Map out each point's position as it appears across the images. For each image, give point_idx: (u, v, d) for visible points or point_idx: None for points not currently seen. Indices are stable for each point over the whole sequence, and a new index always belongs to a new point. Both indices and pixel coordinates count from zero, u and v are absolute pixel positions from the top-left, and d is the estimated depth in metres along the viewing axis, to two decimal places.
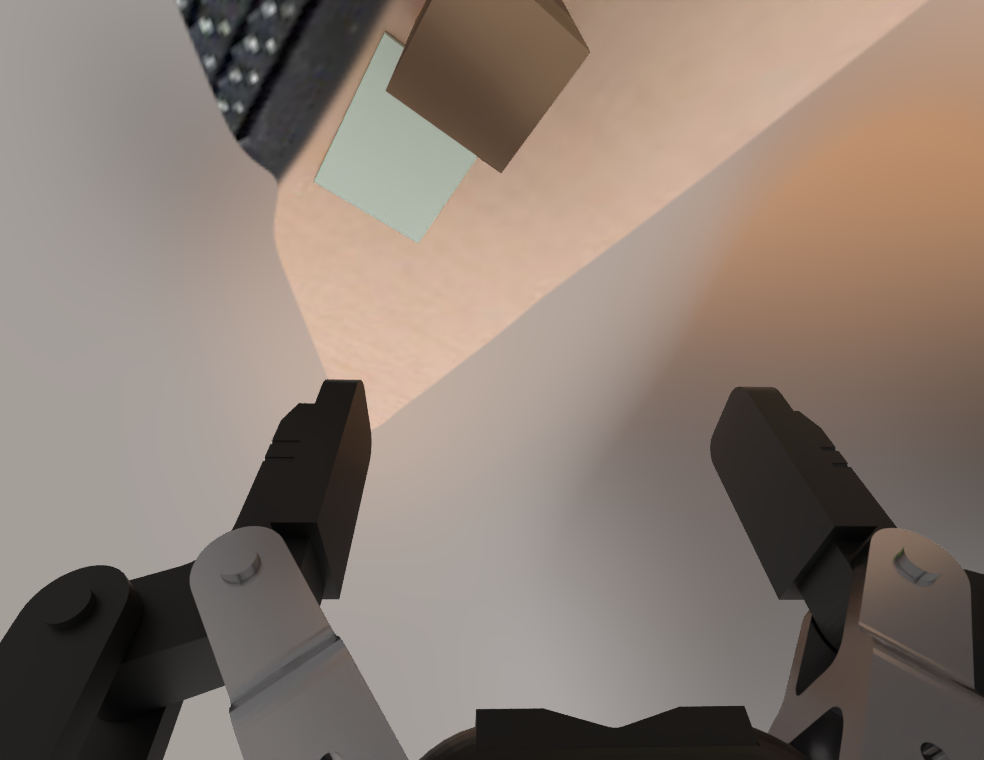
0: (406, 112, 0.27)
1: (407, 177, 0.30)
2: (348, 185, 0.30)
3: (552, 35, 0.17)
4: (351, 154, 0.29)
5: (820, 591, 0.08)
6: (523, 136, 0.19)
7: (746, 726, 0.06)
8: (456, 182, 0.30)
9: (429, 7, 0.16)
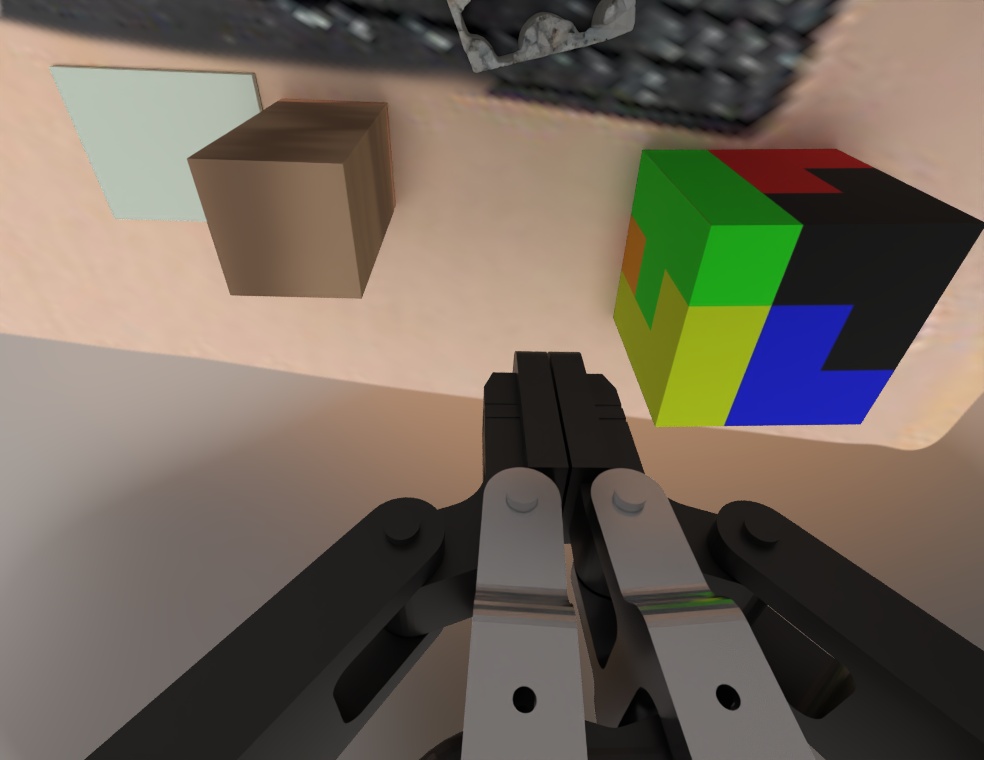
0: (212, 134, 0.25)
1: (161, 169, 0.26)
2: (88, 110, 0.24)
3: (347, 266, 0.19)
4: (121, 98, 0.24)
5: (575, 531, 0.09)
6: (271, 292, 0.19)
7: None
8: (205, 218, 0.27)
9: (279, 162, 0.17)
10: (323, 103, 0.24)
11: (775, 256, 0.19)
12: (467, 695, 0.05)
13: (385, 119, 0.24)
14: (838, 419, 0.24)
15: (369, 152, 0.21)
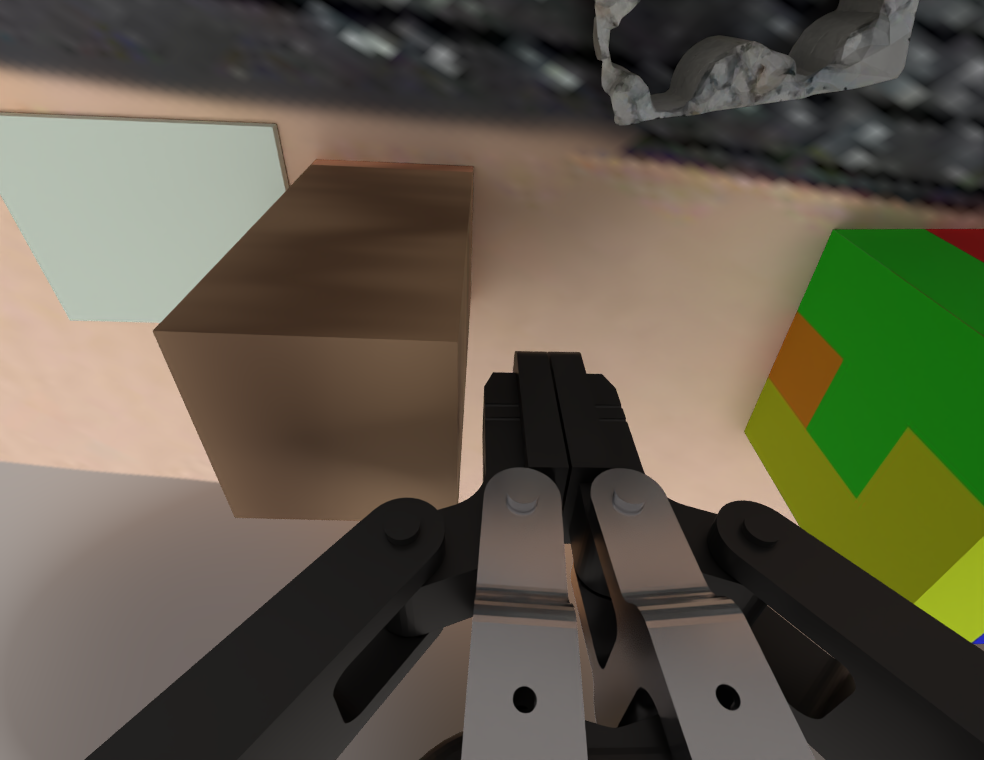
0: (211, 209, 0.17)
1: (135, 257, 0.18)
2: (22, 177, 0.16)
3: (439, 484, 0.11)
4: (72, 159, 0.16)
5: (574, 531, 0.09)
6: (305, 515, 0.11)
7: None
8: None
9: (333, 338, 0.08)
10: (380, 168, 0.16)
11: None
12: (467, 695, 0.05)
13: None
14: None
15: (466, 266, 0.13)
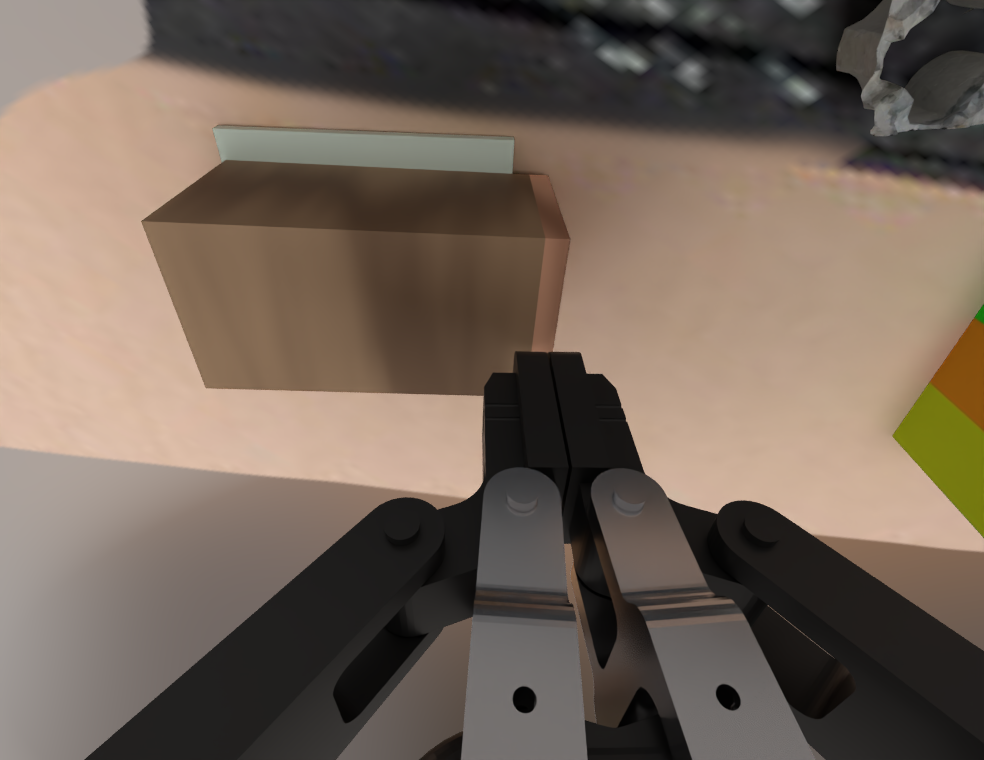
0: None
1: None
2: None
3: None
4: None
5: (575, 531, 0.09)
6: None
7: None
8: None
9: (182, 193, 0.13)
10: (531, 197, 0.14)
11: None
12: (467, 695, 0.05)
13: (531, 259, 0.12)
14: None
15: (344, 262, 0.12)
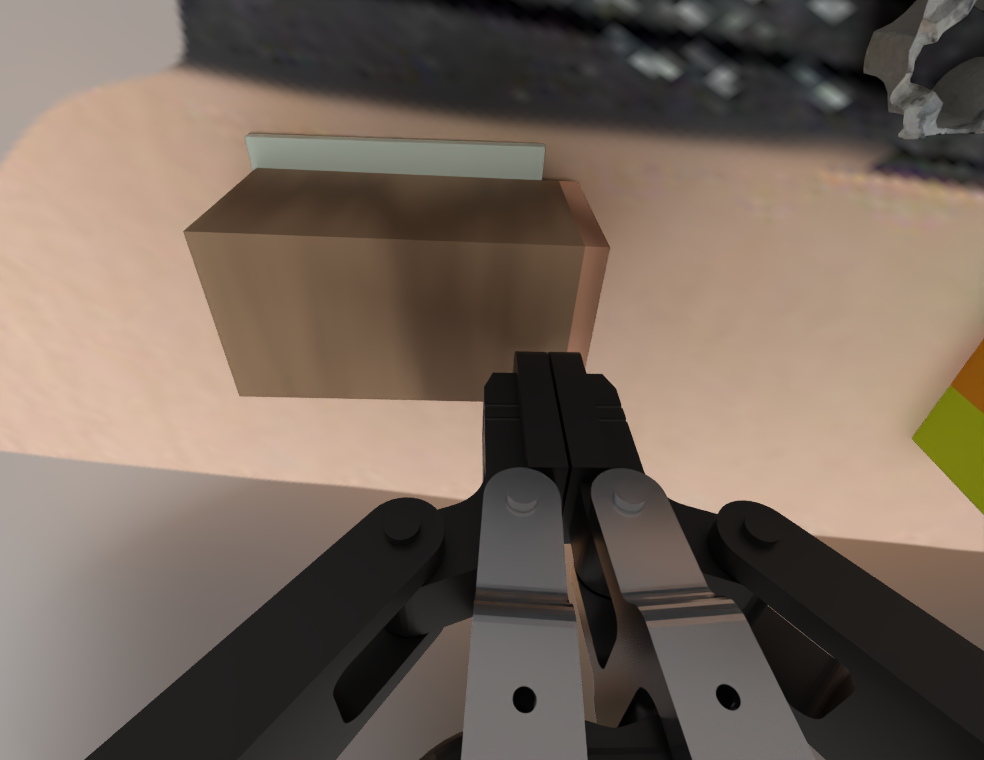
0: None
1: None
2: None
3: None
4: None
5: (575, 531, 0.09)
6: None
7: None
8: None
9: (219, 201, 0.13)
10: (564, 204, 0.14)
11: None
12: (467, 695, 0.05)
13: (570, 266, 0.13)
14: None
15: (383, 270, 0.12)
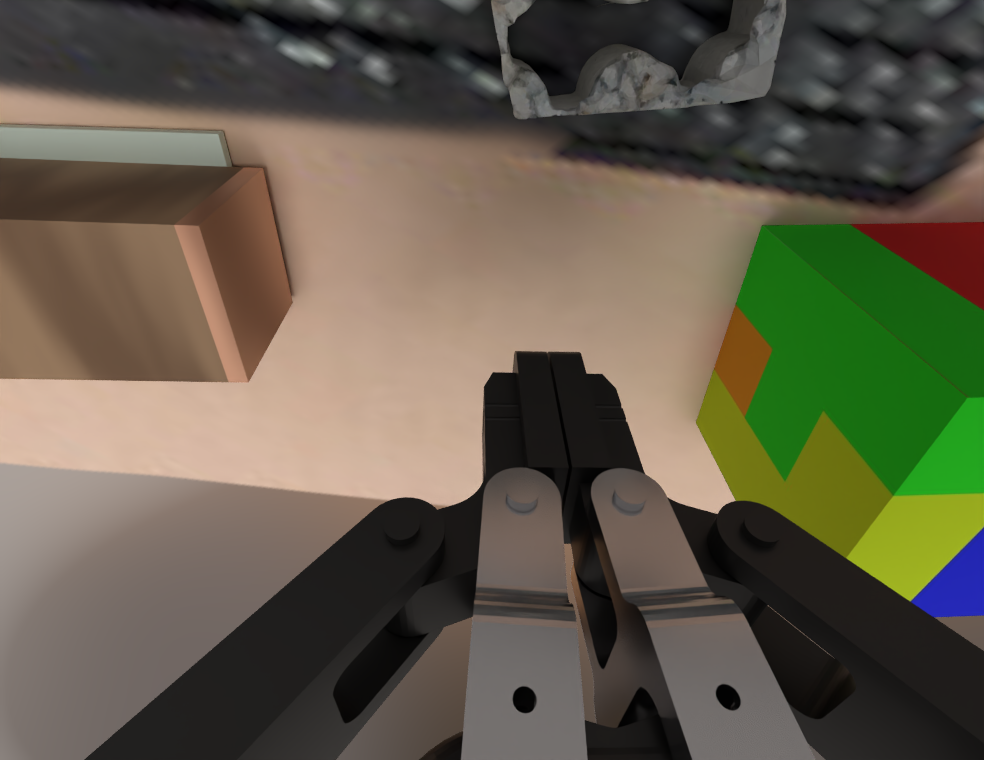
0: None
1: None
2: None
3: None
4: None
5: (575, 531, 0.09)
6: None
7: None
8: None
9: None
10: (215, 188, 0.15)
11: None
12: (467, 695, 0.05)
13: (169, 245, 0.13)
14: None
15: None
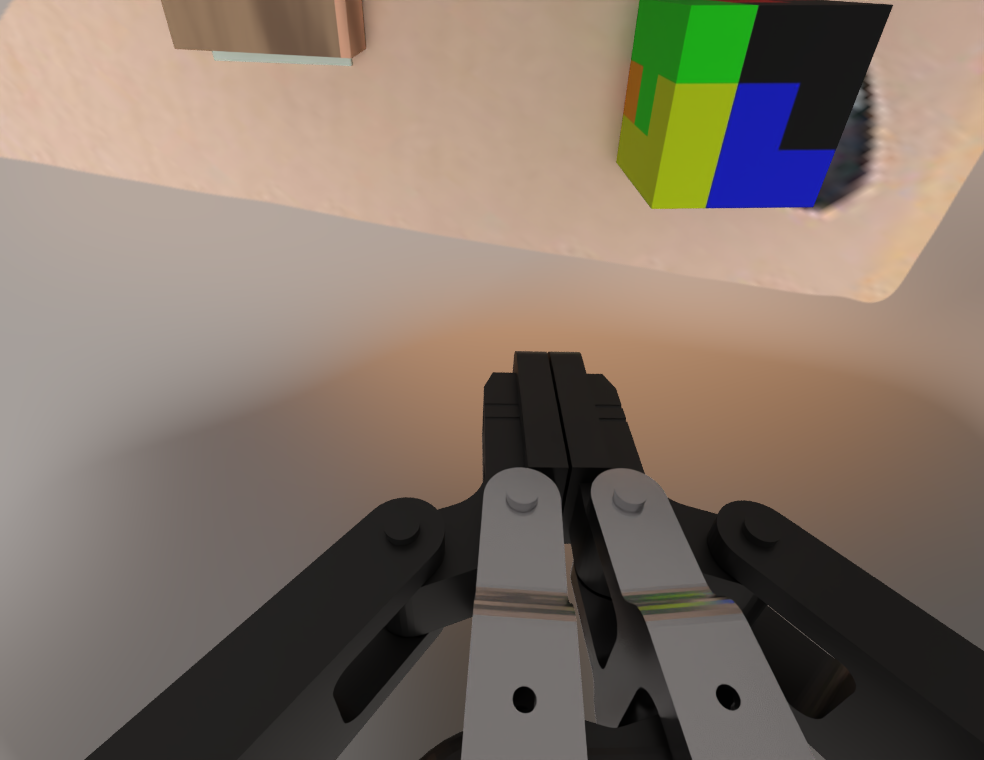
0: None
1: None
2: None
3: None
4: None
5: (575, 531, 0.09)
6: None
7: None
8: (287, 60, 0.34)
9: None
10: None
11: (739, 35, 0.26)
12: (467, 695, 0.05)
13: None
14: (795, 202, 0.31)
15: None
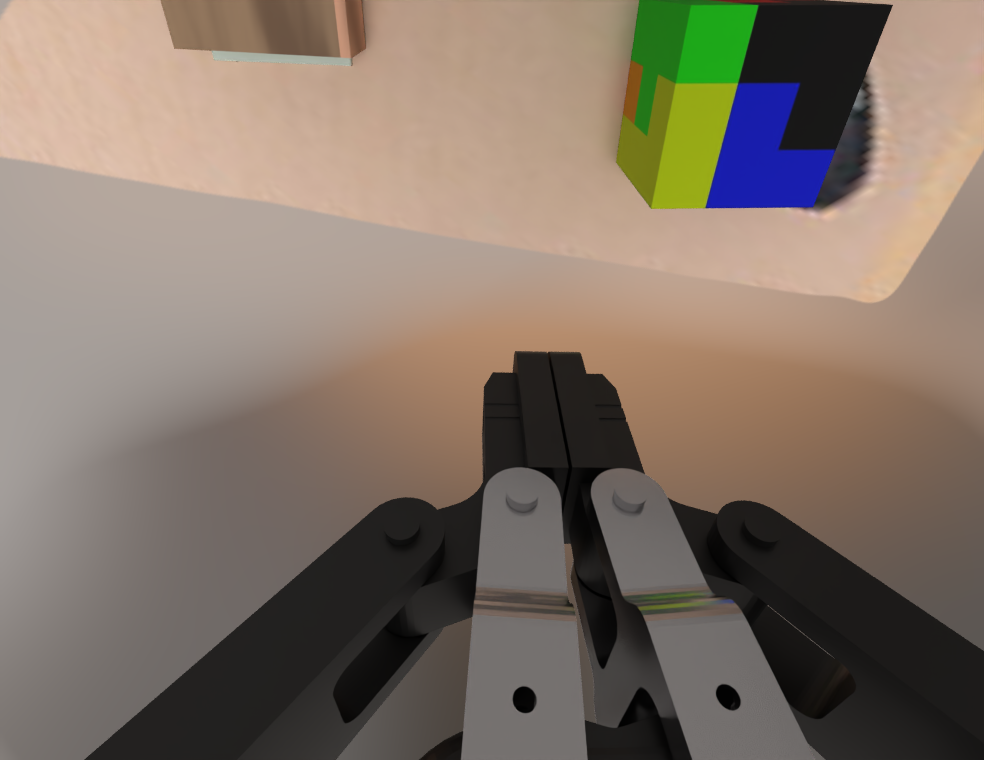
0: None
1: None
2: None
3: None
4: None
5: (575, 531, 0.09)
6: None
7: None
8: (287, 59, 0.34)
9: None
10: None
11: (739, 35, 0.26)
12: (467, 695, 0.05)
13: None
14: (795, 202, 0.31)
15: None
